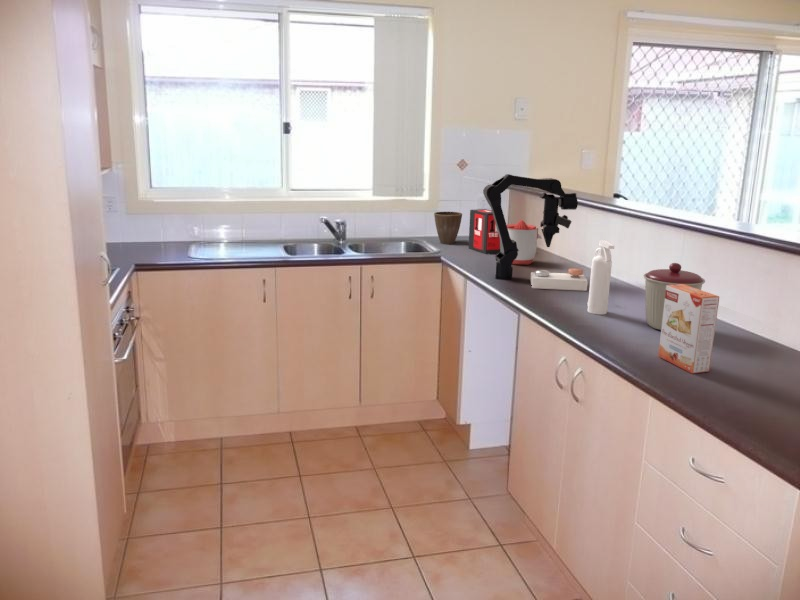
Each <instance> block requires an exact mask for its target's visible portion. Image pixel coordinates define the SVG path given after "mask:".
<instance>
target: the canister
mask: <svg viewBox="0 0 800 600" xmlns="http://www.w3.org/2000/svg"><path fill="white" fill-rule="evenodd" d="M668 268H669V269H668ZM668 268H667V269H666V268H660V269H659V268H658V269H652V270H650V271H649V272H645V273H644V274H643V278H644V279H645V281H644V282H645V284H644V287H645V318H646V323H647V325H649V326H650V327H651V328H653V329H655V330H659V331H661V328H662V319H663V311H664V302H665V293H666V285H677V284H684V285H687V286H690V287H693V288H696V289H699V290H702V287H703V285H704V284H705V283H706V280H705V279H704V278H703V277H702V276H700V275H699V274H698V273H695V272H691V271H686V270H682V265H681V264H680V263H677V262H673V263H670V264H669V266H668Z"/></svg>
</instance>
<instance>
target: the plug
mask: <svg viewBox="0 0 800 600" xmlns="http://www.w3.org/2000/svg"><path fill="white" fill-rule="evenodd" d="M534 272H535V275H536V276H540V277H547V276H549V273H550V270H547V269H536V270H535V271H534Z"/></svg>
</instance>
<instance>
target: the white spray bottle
mask: <svg viewBox="0 0 800 600" xmlns="http://www.w3.org/2000/svg"><path fill="white" fill-rule="evenodd" d="M598 246H599V247H597V248H596V249H595V251H594V257H593V258H592V260H591V267H590V277H589V289H588V290H589V291H588V299H587V303H586V305H587V311H586V312H588V313H589V314H593V315H606V314H607V313H608V307H609V298H610V297H609V296H610V287H611V285H610V284H611V277H612V276H611V275H612V264H613V261H612V253H611V250H615V245H614V244H612V243H611V242H609V241H608V240H605V239H599V241H598ZM598 252H599V254H598Z"/></svg>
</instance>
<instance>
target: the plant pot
mask: <svg viewBox="0 0 800 600" xmlns="http://www.w3.org/2000/svg"><path fill="white" fill-rule="evenodd" d="M433 217H434V223H435V228H436V233H437V236H438V239H439V242H440V244H443V245H453V244H455V242H456V240H457V237H458V234H459V231H460V228H461V223H462V218H463V213H462V212H460V211H459V212H458V211H436V212H434V214H433Z"/></svg>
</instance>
